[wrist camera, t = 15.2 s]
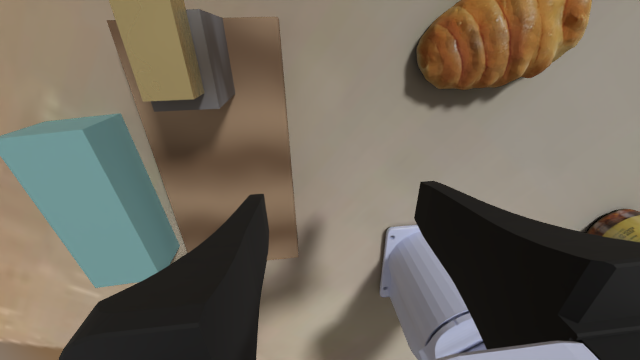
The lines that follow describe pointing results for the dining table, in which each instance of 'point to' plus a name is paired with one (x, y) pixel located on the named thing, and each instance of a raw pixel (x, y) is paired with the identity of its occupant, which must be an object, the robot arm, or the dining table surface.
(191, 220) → the base
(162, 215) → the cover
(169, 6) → the tan rectangular bar
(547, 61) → the pastry
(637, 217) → the sauce bottle
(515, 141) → the dining table surface
